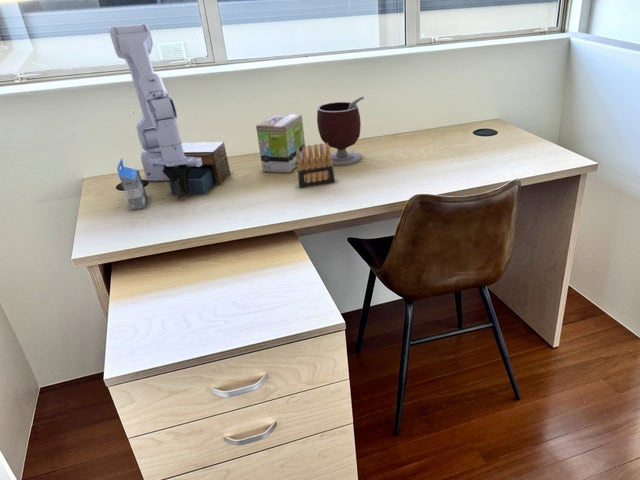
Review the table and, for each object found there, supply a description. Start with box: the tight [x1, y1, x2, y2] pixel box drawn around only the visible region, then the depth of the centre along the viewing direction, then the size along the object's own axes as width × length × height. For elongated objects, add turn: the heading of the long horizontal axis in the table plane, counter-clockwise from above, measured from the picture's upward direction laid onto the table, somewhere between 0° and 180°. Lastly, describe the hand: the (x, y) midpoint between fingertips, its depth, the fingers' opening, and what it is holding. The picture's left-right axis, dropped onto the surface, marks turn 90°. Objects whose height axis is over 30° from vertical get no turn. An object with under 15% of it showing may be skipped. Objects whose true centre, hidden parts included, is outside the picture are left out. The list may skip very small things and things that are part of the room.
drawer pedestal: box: [178, 141, 231, 186], centre depth 171 cm, size 12×14×10 cm
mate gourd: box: [316, 96, 365, 166], centre depth 181 cm, size 16×14×20 cm
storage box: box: [168, 168, 216, 200], centre depth 164 cm, size 10×16×6 cm, turn 176°
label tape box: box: [116, 157, 148, 211], centre depth 156 cm, size 9×4×12 cm, turn 16°
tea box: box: [255, 113, 306, 173], centre depth 180 cm, size 15×10×15 cm
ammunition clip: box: [296, 142, 336, 189], centre depth 164 cm, size 11×2×12 cm, turn 111°
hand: (182, 190), depth 160 cm, fingers closed on storage box
